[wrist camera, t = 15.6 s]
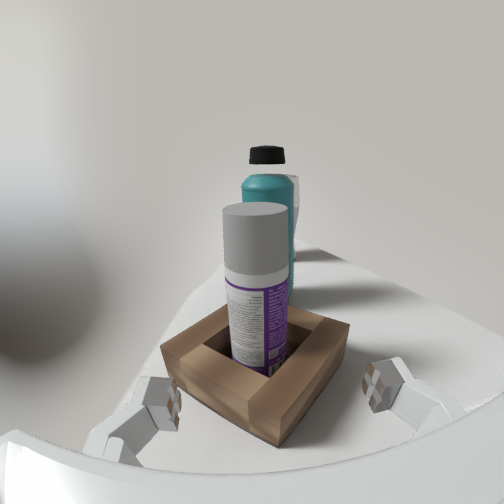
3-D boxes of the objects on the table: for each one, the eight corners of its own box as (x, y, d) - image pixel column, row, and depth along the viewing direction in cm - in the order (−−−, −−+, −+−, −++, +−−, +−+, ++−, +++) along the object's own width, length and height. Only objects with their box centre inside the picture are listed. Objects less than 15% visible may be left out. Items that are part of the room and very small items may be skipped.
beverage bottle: (294, 289, 40) (296, 146, 32) (292, 315, 33) (295, 144, 26) (249, 287, 41) (244, 146, 34) (240, 312, 35) (232, 146, 27)
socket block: (342, 359, 25) (349, 324, 24) (277, 448, 16) (280, 417, 15) (247, 324, 32) (246, 291, 30) (170, 380, 23) (159, 345, 22)
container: (274, 350, 27) (274, 199, 21) (292, 381, 22) (301, 211, 17) (229, 360, 25) (215, 204, 20) (241, 394, 21) (228, 219, 16)
